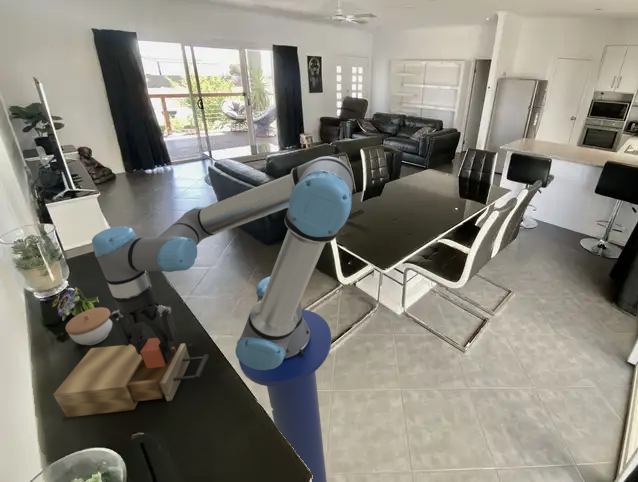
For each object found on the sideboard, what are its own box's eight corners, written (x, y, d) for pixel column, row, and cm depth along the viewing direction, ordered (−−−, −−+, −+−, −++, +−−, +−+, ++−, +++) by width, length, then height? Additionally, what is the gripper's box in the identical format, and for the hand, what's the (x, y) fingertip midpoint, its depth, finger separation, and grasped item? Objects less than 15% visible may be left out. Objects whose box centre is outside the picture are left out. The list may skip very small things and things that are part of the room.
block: (171, 353, 87) (165, 336, 85) (164, 366, 84) (158, 349, 81) (154, 354, 87) (148, 338, 84) (146, 368, 83) (140, 351, 81)
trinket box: (116, 341, 102) (106, 318, 98) (72, 357, 96) (60, 333, 93) (117, 320, 110) (108, 298, 106) (77, 334, 104) (65, 311, 101)
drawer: (214, 357, 95) (209, 340, 93) (199, 397, 84) (193, 379, 81) (137, 365, 93) (130, 348, 90) (111, 407, 82) (101, 389, 79)
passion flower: (72, 330, 113) (47, 304, 111) (106, 307, 120) (83, 282, 118) (70, 329, 105) (43, 301, 103) (107, 305, 112) (83, 279, 110)
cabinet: (159, 363, 94) (151, 342, 91) (134, 409, 82) (123, 386, 79) (101, 369, 92) (91, 348, 89) (66, 417, 80) (52, 394, 77)
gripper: (178, 276, 80) (198, 345, 90) (103, 282, 78) (132, 351, 88) (164, 296, 73) (187, 368, 83) (81, 303, 71) (115, 376, 81)
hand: (159, 359), depth 85 cm, fingers closed on block, 4 cm apart
